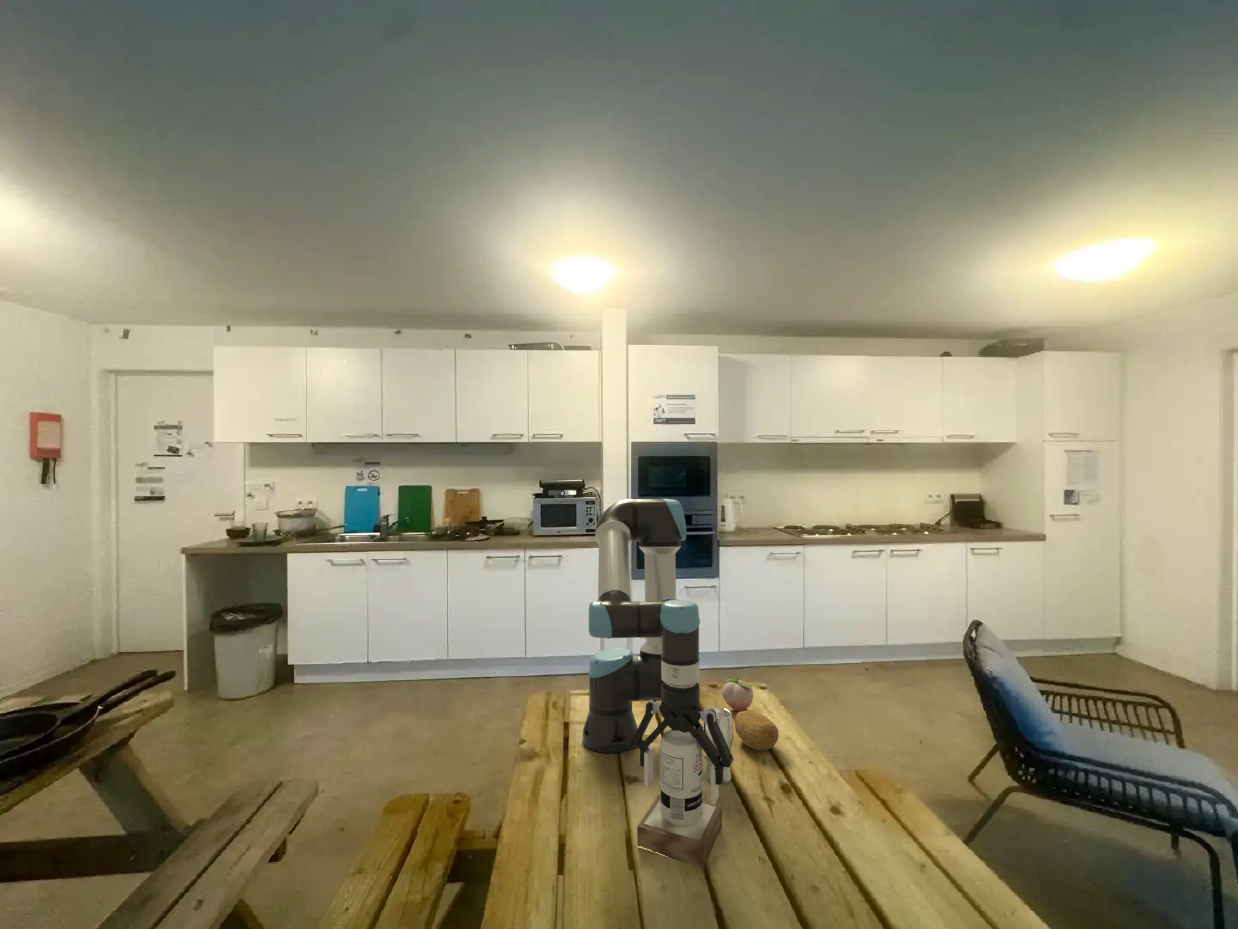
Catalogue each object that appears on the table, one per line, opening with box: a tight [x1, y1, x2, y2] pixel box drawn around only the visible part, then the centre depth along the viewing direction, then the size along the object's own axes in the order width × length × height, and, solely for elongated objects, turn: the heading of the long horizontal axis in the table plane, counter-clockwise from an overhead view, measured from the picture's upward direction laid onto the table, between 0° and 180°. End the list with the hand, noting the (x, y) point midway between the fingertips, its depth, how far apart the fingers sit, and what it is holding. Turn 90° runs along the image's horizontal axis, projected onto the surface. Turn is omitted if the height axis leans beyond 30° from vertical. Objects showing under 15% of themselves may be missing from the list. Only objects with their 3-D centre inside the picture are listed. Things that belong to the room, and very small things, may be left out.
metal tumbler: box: [702, 706, 734, 785], centre depth 127 cm, size 7×7×15 cm
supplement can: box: [659, 729, 703, 826], centre depth 106 cm, size 8×8×15 cm
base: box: [636, 793, 723, 869], centre depth 105 cm, size 13×13×4 cm
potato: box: [734, 709, 780, 752], centre depth 142 cm, size 10×14×8 cm
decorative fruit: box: [721, 677, 754, 712], centre depth 164 cm, size 9×8×10 cm
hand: (680, 791), depth 106 cm, fingers open, 13 cm apart
